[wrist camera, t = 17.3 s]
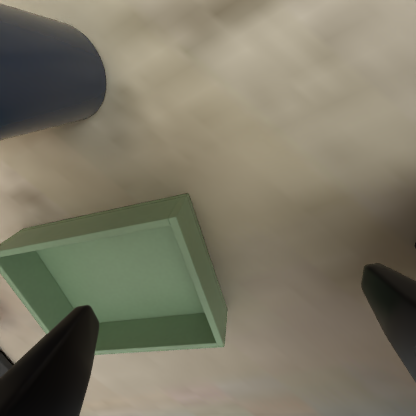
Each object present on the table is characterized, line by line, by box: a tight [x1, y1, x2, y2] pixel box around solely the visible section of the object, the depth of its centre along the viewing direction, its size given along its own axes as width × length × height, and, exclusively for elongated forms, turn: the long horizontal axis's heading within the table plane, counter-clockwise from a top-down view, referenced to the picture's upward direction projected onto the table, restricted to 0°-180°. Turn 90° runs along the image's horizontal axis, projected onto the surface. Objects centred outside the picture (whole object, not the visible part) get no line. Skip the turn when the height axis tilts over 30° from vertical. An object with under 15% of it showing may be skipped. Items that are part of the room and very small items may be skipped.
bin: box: [0, 193, 227, 355], centre depth 24 cm, size 17×13×4 cm
